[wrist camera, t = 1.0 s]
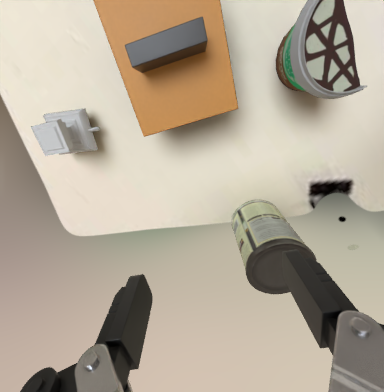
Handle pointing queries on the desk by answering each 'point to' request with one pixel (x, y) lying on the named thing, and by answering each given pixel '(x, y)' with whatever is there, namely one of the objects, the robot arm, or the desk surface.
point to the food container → (319, 52)
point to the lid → (170, 59)
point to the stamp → (66, 133)
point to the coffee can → (265, 244)
